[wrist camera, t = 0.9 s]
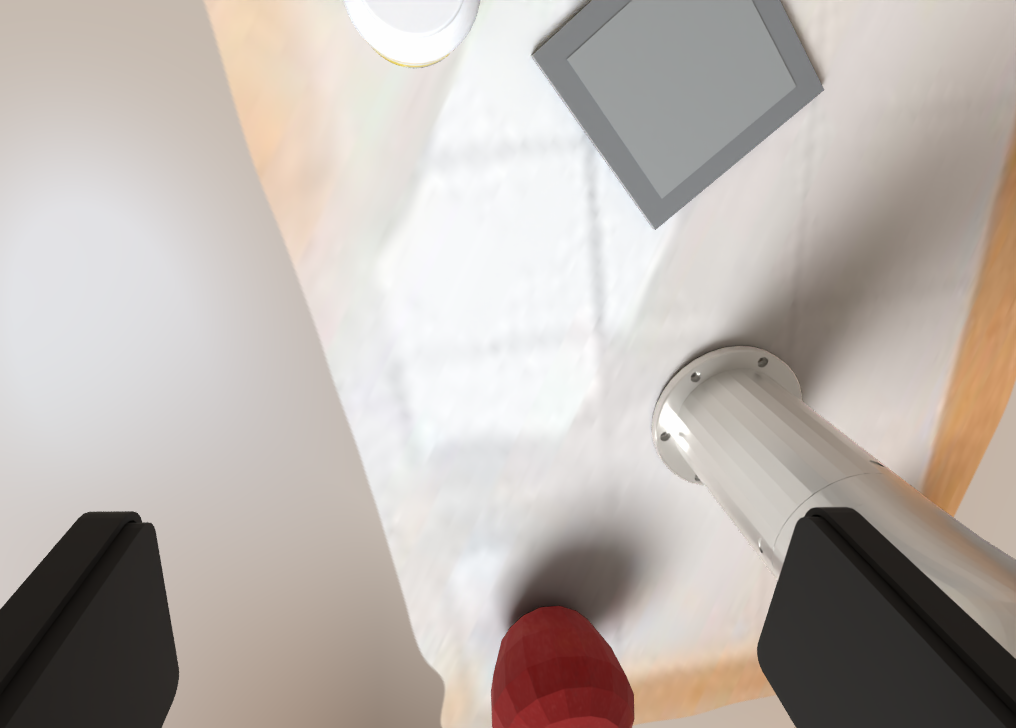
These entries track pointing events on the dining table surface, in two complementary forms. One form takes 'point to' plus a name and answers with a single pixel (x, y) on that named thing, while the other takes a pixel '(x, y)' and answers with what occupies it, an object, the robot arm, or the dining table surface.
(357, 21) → the pill bottle
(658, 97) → the coaster
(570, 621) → the apple
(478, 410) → the dining table surface
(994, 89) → the dining table surface
